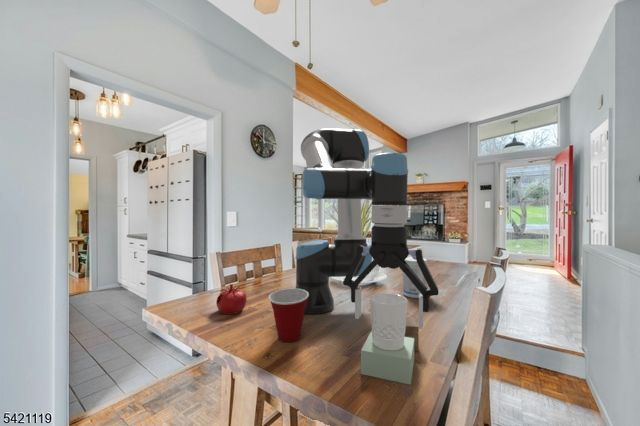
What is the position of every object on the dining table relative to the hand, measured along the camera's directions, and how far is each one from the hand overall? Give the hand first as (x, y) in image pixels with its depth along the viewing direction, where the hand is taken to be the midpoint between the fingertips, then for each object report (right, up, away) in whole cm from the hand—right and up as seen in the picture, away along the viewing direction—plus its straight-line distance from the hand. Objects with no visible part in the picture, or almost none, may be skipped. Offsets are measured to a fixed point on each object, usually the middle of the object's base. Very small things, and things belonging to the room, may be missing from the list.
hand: (388, 321), depth 62 cm
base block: (0, -10, 0) cm, 10 cm away
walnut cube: (+6, -10, +10) cm, 15 cm away
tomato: (-45, -10, +34) cm, 58 cm away
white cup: (0, -5, 0) cm, 5 cm away
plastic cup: (-23, -10, +14) cm, 29 cm away
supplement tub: (+23, -10, +52) cm, 58 cm away
